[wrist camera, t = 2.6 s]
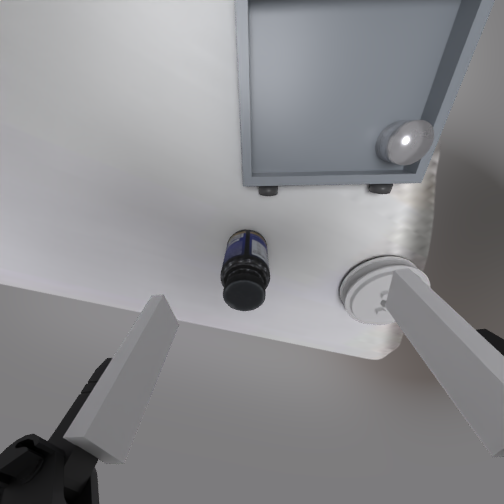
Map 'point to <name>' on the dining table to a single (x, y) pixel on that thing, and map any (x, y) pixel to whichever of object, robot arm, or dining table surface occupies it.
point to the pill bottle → (245, 271)
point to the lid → (373, 289)
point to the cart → (345, 84)
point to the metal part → (405, 141)
